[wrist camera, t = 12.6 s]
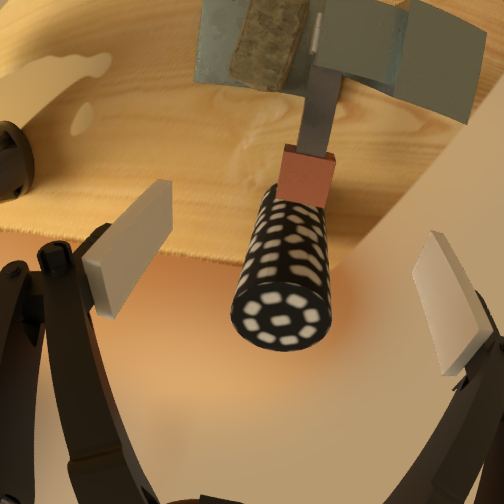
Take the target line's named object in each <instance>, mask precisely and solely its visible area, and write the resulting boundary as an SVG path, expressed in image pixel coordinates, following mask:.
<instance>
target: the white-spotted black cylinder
mask: <svg viewBox="0 0 504 504" xmlns="http://www.w3.org/2000/svg"><path fill="white" fill-rule="evenodd" d="M277 187H278V183H276V184H275V185H273V186H272V187H270V188H269V189H268V190H267V192H266V193H265V195H264V197H263V199H262V202H261V206H260V209H259V213H258V216H257V220H256V223H255V227H254V230H253V233H252V237H251V240H250V244H249V247H248V251H247V254H246V258H245V261H244V265H243V268H242V272H241V275H240V279H239V282H238V286H237V289H236V292H235V296H234V299H233V303H232V306H231V313H230V315H231V321H232V323H233V326H234V328H235V329H236V330H237V332H238V333H239V334H240V335H241V336H242V337H243V338H244V339H246V340H247V341H249V342H250V343H252V344H254V345H256V346H258V347H261V348H264V349H268V350H273V351H281V352H288V351H297V350H302V349H305V348H308V347H310V346H312V345H314V344H316V343H318V342H319V341H320V340H321V339H323V338H324V336H325V335H326V334H327V333H328V331H329V329H330V327H331V321H332V313H331V293H330V276H329V261H328V248H327V236H326V224H325V214H324V208H321V207H316V206H311V205H306V204H301V203H296V202H291V201H286V200H281V199H276V192H277Z"/></svg>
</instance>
